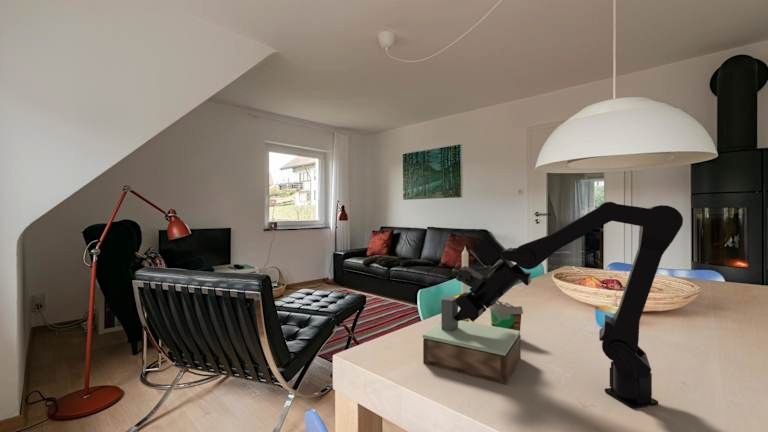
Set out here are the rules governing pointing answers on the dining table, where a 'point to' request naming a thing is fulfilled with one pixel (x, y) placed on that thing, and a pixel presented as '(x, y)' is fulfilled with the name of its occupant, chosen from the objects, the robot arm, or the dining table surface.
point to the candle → (464, 286)
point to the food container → (506, 315)
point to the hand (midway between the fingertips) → (456, 319)
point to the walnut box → (472, 360)
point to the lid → (470, 332)
